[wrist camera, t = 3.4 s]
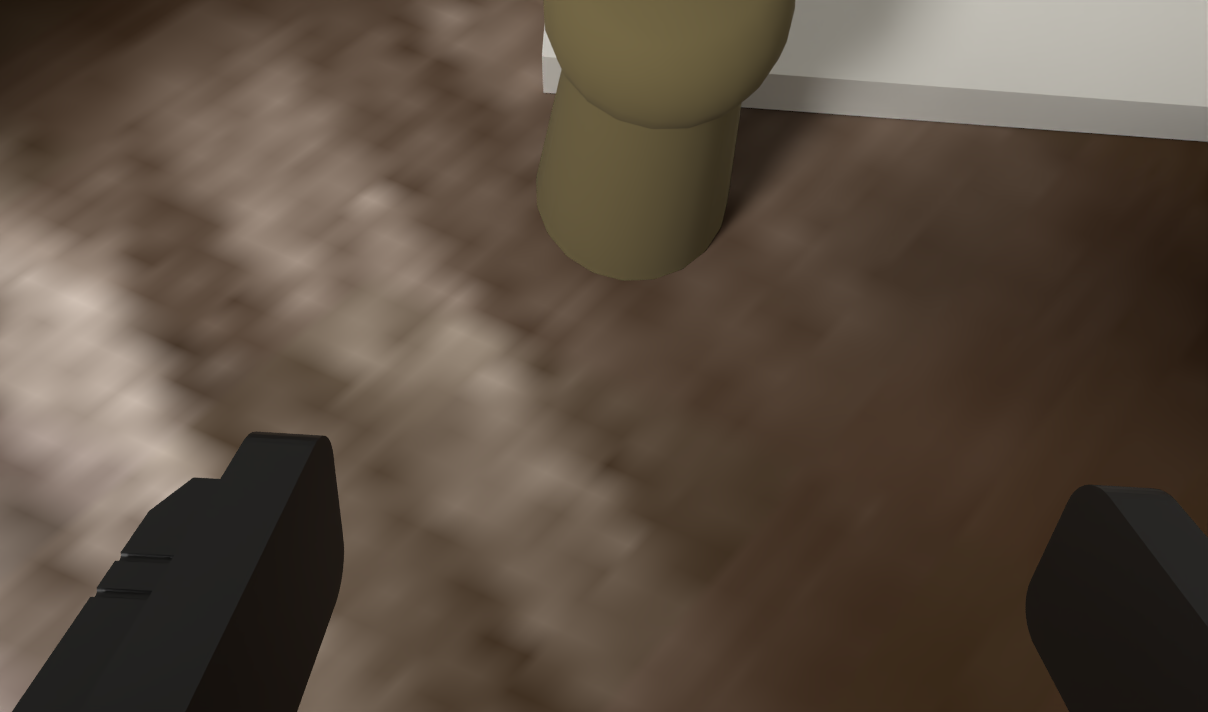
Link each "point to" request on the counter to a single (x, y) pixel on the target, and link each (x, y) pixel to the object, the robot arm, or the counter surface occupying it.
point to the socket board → (994, 64)
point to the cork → (649, 125)
